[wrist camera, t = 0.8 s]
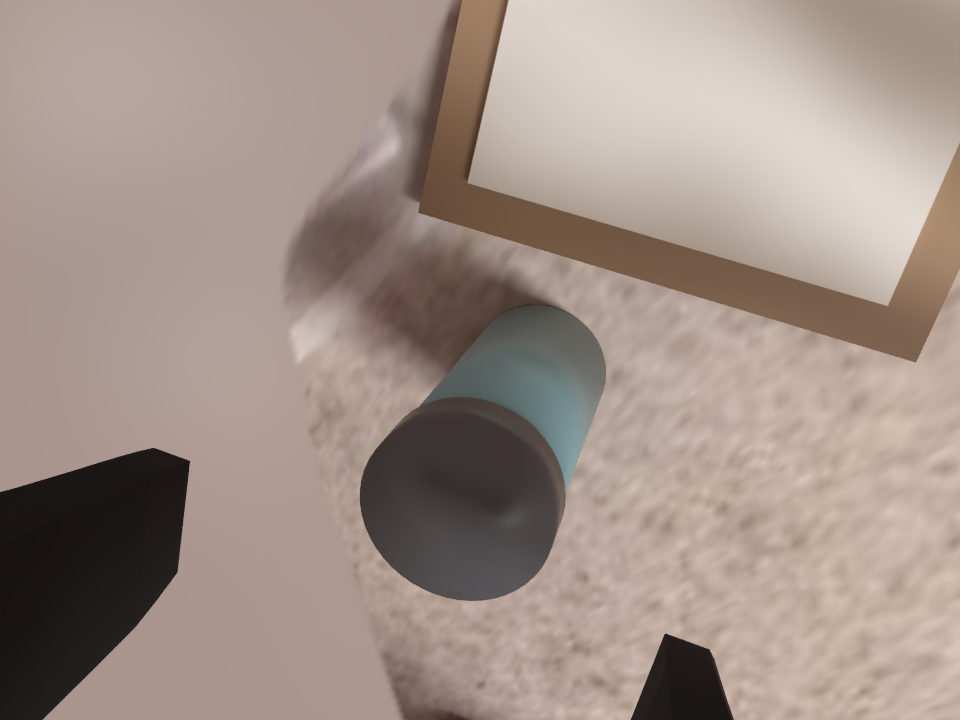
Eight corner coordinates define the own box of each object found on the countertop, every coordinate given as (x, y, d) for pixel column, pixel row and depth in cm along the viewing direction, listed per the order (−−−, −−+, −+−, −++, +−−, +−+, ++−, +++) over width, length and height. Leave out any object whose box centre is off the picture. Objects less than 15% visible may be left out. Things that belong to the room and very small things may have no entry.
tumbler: (587, 452, 22) (525, 628, 15) (456, 409, 22) (344, 560, 16) (628, 326, 20) (578, 460, 14) (487, 282, 21) (379, 393, 15)
